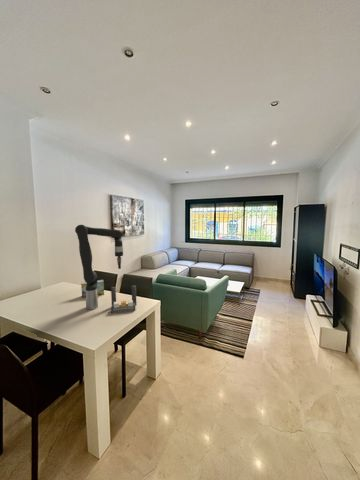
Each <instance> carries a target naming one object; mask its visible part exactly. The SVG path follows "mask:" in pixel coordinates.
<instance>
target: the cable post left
mask: <svg viewBox="0 0 360 480" xmlns="http://www.w3.org/2000/svg"><path fill="white" fill-rule="evenodd" d="M110 295H111V306H112V305H114V302H117V289H116V287H115V286H111V287H110Z"/></svg>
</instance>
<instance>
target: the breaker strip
mask: <svg viewBox="0 0 360 480" xmlns="http://www.w3.org/2000/svg"><path fill="white" fill-rule="evenodd" d="M110 311H111V314H115V313H126V312H135V311H136V305H135V302H134V303H133V306H128V303H126V307H121V304H119V307H117V308H114V305H112V304H111V307H110Z"/></svg>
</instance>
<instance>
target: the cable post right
mask: <svg viewBox="0 0 360 480" xmlns="http://www.w3.org/2000/svg"><path fill="white" fill-rule="evenodd" d="M131 300H133V303H134V302H135V306H137V285H132V286H131Z"/></svg>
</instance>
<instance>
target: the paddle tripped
mask: <svg viewBox="0 0 360 480" xmlns="http://www.w3.org/2000/svg"><path fill="white" fill-rule="evenodd" d="M126 304H127V301H126V300H123V301H120V305H121V307H126Z"/></svg>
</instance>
